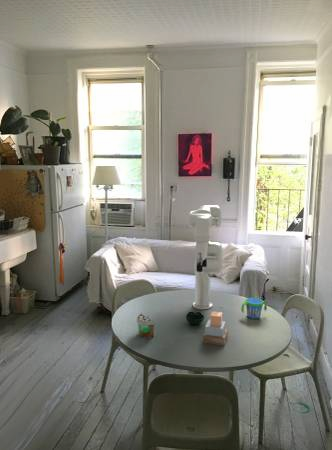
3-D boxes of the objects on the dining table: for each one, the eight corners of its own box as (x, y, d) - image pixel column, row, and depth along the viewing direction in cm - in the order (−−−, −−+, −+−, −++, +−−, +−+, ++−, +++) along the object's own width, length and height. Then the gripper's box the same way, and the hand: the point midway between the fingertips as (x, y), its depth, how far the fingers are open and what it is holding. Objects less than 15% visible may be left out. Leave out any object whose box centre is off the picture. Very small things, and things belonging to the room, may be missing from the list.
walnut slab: (207, 333, 211) (207, 326, 210) (227, 336, 208) (227, 328, 207) (203, 343, 201) (203, 335, 200) (224, 346, 197) (224, 338, 196)
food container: (132, 332, 211) (132, 315, 209) (142, 329, 215) (141, 312, 213) (145, 341, 202) (144, 323, 200) (154, 338, 205) (154, 320, 203)
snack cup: (262, 312, 238) (263, 296, 236) (269, 319, 228) (270, 303, 226) (238, 313, 236) (238, 298, 234) (244, 321, 226) (244, 304, 224)
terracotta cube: (212, 321, 206) (212, 311, 205) (222, 322, 204) (222, 312, 203) (210, 325, 201) (210, 315, 200) (220, 326, 199) (221, 316, 198)
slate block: (208, 327, 209) (208, 319, 208) (225, 329, 206) (225, 321, 205) (205, 334, 200) (205, 326, 199) (222, 337, 198) (222, 328, 197)
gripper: (199, 235, 220) (199, 264, 223) (191, 241, 204) (190, 273, 207) (212, 236, 218) (211, 265, 221) (205, 242, 202) (204, 274, 205)
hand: (201, 269), depth 214 cm, fingers open, 9 cm apart
